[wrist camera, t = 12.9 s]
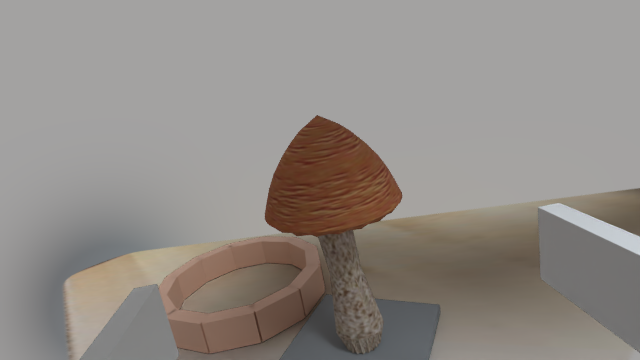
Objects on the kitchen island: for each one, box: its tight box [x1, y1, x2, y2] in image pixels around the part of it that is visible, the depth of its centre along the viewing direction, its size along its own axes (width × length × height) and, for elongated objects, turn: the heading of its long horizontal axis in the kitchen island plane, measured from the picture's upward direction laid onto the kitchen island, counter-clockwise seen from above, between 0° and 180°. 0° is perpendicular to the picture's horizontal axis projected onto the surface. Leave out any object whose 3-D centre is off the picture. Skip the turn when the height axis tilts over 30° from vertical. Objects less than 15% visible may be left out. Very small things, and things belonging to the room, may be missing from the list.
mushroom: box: [265, 115, 402, 354], centre depth 23 cm, size 8×8×15 cm
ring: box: [158, 236, 325, 354], centre depth 34 cm, size 14×14×2 cm
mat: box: [280, 294, 440, 360], centre depth 25 cm, size 9×11×1 cm
